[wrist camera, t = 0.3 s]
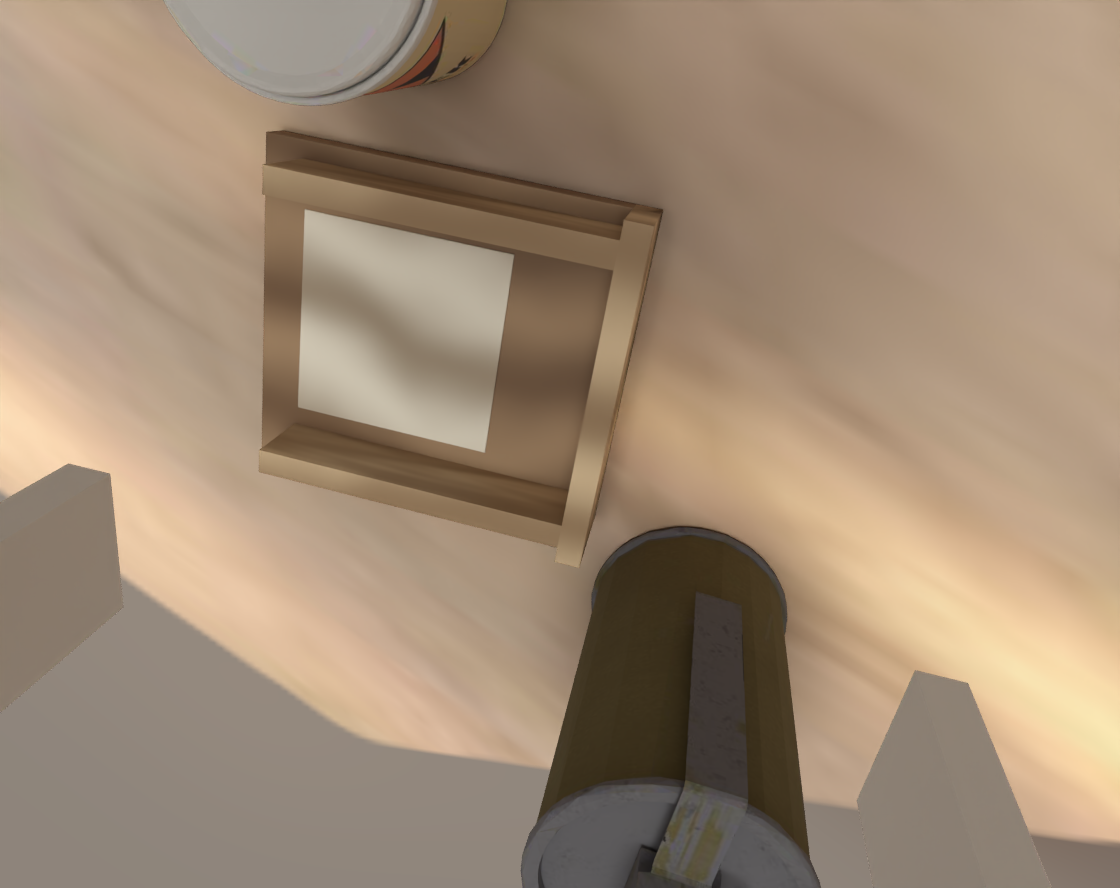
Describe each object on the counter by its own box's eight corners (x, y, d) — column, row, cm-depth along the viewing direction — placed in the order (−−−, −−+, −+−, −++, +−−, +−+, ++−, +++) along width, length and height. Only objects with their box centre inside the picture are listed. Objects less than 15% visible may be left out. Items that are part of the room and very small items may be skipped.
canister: (749, 709, 45) (766, 1118, 27) (573, 654, 46) (475, 1016, 28) (819, 552, 40) (895, 920, 22) (621, 494, 41) (542, 803, 23)
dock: (283, 130, 37) (221, 135, 32) (663, 209, 35) (654, 226, 31) (276, 438, 44) (224, 477, 39) (594, 517, 42) (579, 568, 37)
